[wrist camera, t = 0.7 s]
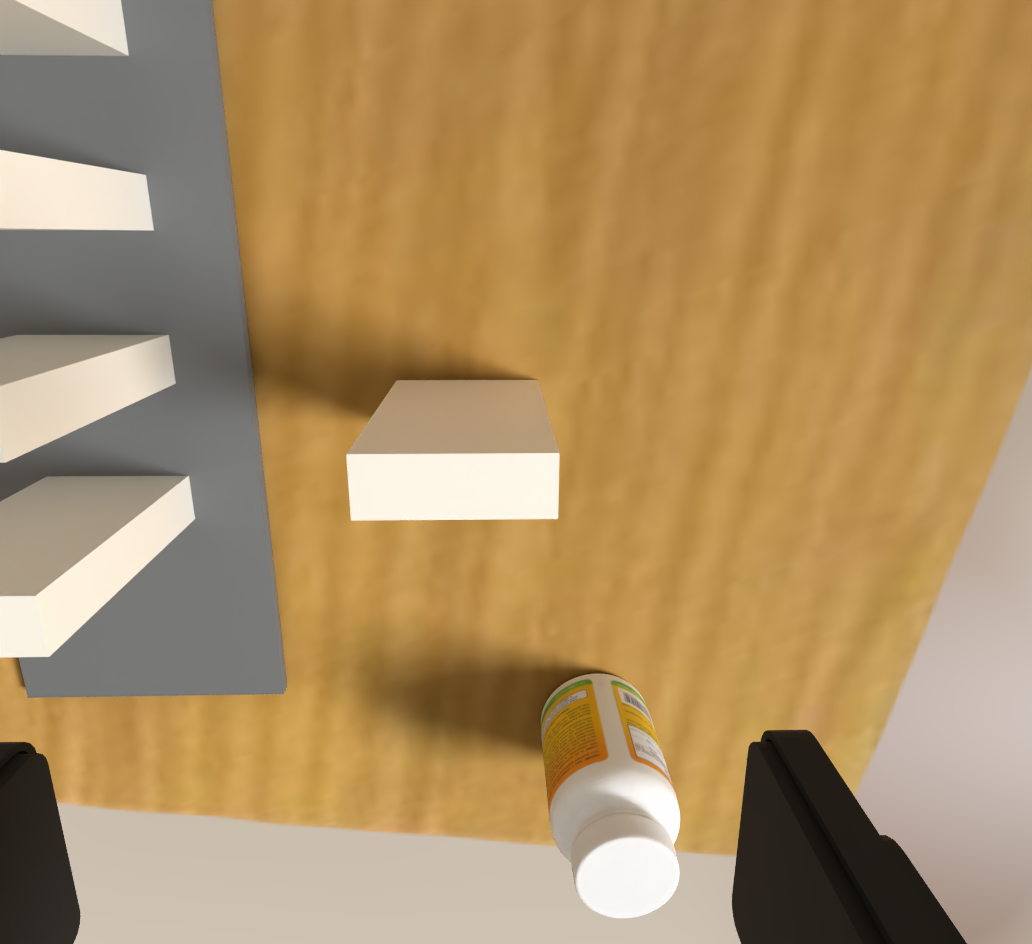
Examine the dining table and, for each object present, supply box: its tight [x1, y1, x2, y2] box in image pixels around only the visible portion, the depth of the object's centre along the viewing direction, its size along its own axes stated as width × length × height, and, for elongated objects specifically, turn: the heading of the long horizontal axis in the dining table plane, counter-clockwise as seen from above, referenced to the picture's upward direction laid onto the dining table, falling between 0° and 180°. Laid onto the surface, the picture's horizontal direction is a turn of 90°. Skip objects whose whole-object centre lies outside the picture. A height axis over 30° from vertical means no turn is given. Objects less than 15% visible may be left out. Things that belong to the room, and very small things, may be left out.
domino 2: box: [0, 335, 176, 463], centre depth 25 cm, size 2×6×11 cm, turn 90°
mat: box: [0, 0, 287, 698], centre depth 30 cm, size 32×12×1 cm, turn 0°
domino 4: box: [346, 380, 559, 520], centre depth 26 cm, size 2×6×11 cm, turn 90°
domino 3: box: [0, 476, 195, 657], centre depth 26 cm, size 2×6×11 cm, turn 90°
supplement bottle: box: [541, 674, 680, 918], centre depth 32 cm, size 5×5×10 cm
